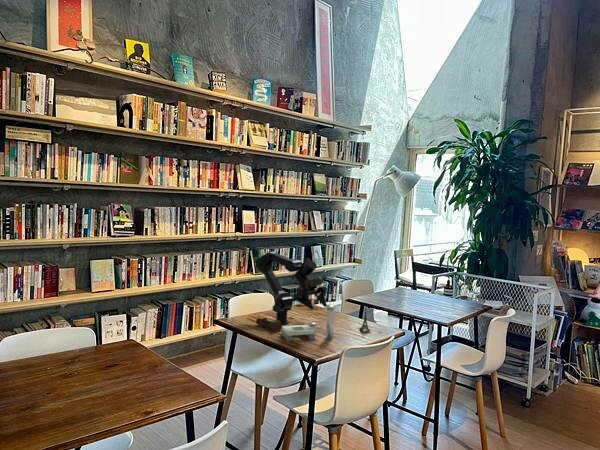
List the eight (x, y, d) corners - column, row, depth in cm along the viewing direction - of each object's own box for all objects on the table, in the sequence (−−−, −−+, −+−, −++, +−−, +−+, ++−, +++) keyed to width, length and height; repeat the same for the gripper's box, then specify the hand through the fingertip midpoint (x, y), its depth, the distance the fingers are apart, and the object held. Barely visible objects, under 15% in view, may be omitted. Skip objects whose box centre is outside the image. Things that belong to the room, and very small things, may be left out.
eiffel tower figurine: (384, 334, 217) (385, 307, 216) (371, 338, 210) (372, 310, 209) (360, 327, 227) (361, 301, 227) (347, 330, 220) (348, 304, 220)
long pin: (323, 337, 206) (324, 304, 205) (332, 336, 208) (333, 304, 207) (326, 340, 202) (328, 306, 201) (335, 339, 203) (337, 306, 203)
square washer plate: (281, 334, 208) (281, 326, 208) (307, 332, 212) (307, 324, 212) (287, 341, 199) (287, 332, 198) (314, 339, 203) (314, 330, 202)
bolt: (258, 328, 224) (279, 334, 213) (252, 324, 220) (272, 330, 210) (263, 317, 226) (283, 322, 215) (256, 314, 222) (277, 319, 212)
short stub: (306, 331, 214) (307, 321, 214) (315, 331, 216) (315, 321, 215) (309, 334, 210) (309, 324, 210) (318, 333, 211) (318, 324, 211)
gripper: (298, 273, 206) (315, 300, 198) (325, 270, 219) (341, 295, 212) (286, 287, 212) (302, 314, 204) (313, 283, 225) (328, 308, 218)
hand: (319, 307), depth 209 cm, fingers open, 9 cm apart
